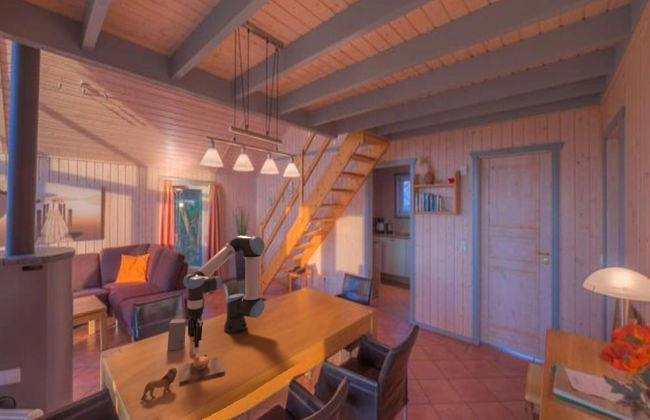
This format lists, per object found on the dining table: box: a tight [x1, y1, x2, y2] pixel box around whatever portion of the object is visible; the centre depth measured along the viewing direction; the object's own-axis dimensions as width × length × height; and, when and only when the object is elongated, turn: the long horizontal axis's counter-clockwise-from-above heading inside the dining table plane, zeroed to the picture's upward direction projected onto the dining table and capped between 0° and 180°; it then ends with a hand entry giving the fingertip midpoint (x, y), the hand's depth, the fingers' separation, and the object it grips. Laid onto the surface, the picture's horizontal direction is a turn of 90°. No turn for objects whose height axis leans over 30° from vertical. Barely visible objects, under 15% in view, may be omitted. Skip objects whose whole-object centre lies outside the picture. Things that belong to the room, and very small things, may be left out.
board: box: [178, 353, 226, 386], centre depth 144 cm, size 20×16×6 cm
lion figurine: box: [140, 367, 178, 401], centre depth 126 cm, size 15×5×9 cm, turn 142°
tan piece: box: [188, 336, 210, 366], centre depth 145 cm, size 13×7×11 cm, turn 57°
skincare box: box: [167, 318, 187, 352], centre depth 168 cm, size 8×7×16 cm
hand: (194, 351), depth 149 cm, fingers closed on tan piece, 3 cm apart
